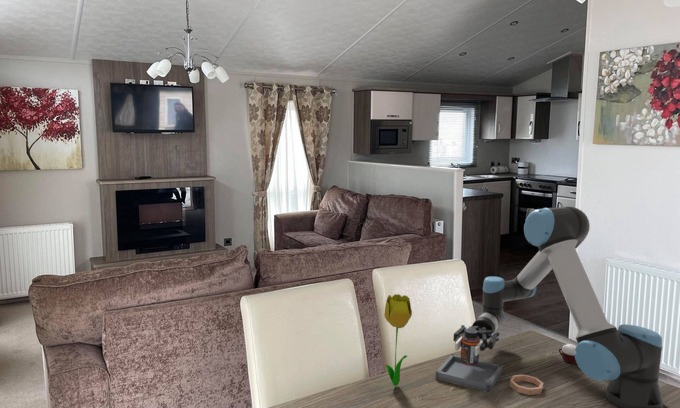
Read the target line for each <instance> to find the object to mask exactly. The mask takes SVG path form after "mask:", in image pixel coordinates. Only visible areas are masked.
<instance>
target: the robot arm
mask: <svg viewBox="0 0 680 408" xmlns="http://www.w3.org/2000/svg"><path fill="white" fill-rule="evenodd" d="M524 222H525V223H524V225H523V233H524V237H525V239H526V241H527V242H528V243H529V244H531V245H532V246H535V247H538V252H536V254H535V255H534V256H533V257H532V259H530V260H529V262H528V263H527V264H526V265H525V266H524V267H523V269H522V270H521V271H520V272H519V274H517V276H516V277H515V278H514V279H511V280H510V279H509V280H505V279H504V278H502V277H499V276H491V275H490V276H486V277H485V278H484V280H483V285H482V305H481V314H480V315H479V316H478V318H476V320H475V321H474V322H473V323H472V325H471V326H469V327H466V326H465V325H464V324H462V325H460V326H461V327H460V328H458V329H457V330H456V331H455V332H453V341H454V352H458V351H459V349H461V341H462V336H463V335H465V330H466V329H469V328H471V329H475V330H477V336H478V337H479V339H480V342H479V343H478V344H477V346H476V347H475V356H477V355H478V354H479V355H480V353H481V352H483V351H485V350H486V349H489V350H493V349H494V347H495V345H496V343H497V342H498V341H500V332H496V331H497V329H498V328H499V327H500V326H501V325H502V324H503V322H504V320H505V316H506V315H505V312H504V303H505V302H510V301H516V300H522V299H523V300H525V299H528V298H531V297H534V296H535V294H536V293H537V292H536V291H537V286H538V285H539V283H540V282H541V281H542V280H543V279H544V278H546V276H547V275H549V273H550V272H551V271H553V273H554V276H555V278H556V280H557V283H558V286H559V288H560V290H561V292H562V295H563V297H564V300H565V302H566V305H567V307H568V310H569V311H570V314H571V317H572V319H573V321H574V323H575V326H576V328H577V334H576V336H575V340H576V342H577V345H575V346H576V348H575V351H576V352H575V353H574V355H575V360H576V363H575V364H577V366H578V368H579V370H581V372H582V373H583V374H584V375H585V376H586V377H589V378H590V379H591V380H594V381H598V382H605V381H608V382H609V383H608V384H607V386H606V389H605V390H606V392H605V397H606V399H607V400H608V401H609V402H610V404H611V403H612V405H614V406H616V407H618V408H664V398H663V394H662V392H661V388H660V385H659V377H660V367H661V361H662V360H661V359H662V350H663V337H662V336H661V335H660V334H659V333H658V332H656V331H654V330H652V329H649V328H648V327H647V328H646V327H643V326H640V325H633V324H628V323H627V324H626V323H625V324H620V325H619V326H618V328H617V327H616V325H613V324H612V323H610V322H609V321H608V319H607V318H606V315H605V313H604V311H603V308H602V306H601V304H600V301H599V299H598V297H597V295H596V293H595V291H594V288H593V286H592V284H591V283H592V282H590V278H589V276H588V275H587V273H586V270H585V268H584V265H583V263H582V261H581V259H580V256H579V254H578V252H577V248H578V247H579V246H580V245H581V244H582V243H583V242H584V241H585V239H586V237H587V236H588V235H589V231H590V229H591V228H590V225H591V224H590V220H589V218H588V216H587V215H586V214H585V211H582V210H581V209H579V208H578V207H574V206H563V207H562V206H561V207H543V208H537V209H534V210H532V211H531V212H530V213H529V214H528V215H527V217H526V219H525V221H524ZM488 340H489V341H488Z"/></svg>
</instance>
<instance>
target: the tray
mask: <svg viewBox="0 0 680 408" xmlns="http://www.w3.org/2000/svg"><path fill="white" fill-rule="evenodd" d="M503 367H504V366H503V365H499V364H496V363H491V362H488V361H483V360H479V362H478V364H477V365H474V366H469V365H465V364H463V363H462V362H461V355H457V354H453V353H451V354H450V355H449V356H448V357H447V359H445V360H444V362H443V363H442V364H441V365H440V367H439V368H437V370H436V371H435V380H439V381H442V382H447V383H449V384H455V385H458V386H460V387H461V386H462V387H464V388H469V389H473V390H478V391H481V392H486V393H488V394H490V393H492V391H493V389H494V388H495V386H496V384H497V383H498V381H499V379H500V377H501V376H502V374H503V370H504V368H503Z"/></svg>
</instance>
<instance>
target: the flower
mask: <svg viewBox="0 0 680 408" xmlns="http://www.w3.org/2000/svg"><path fill="white" fill-rule="evenodd" d="M386 298H387V299H386V301H385V306H384V318H385V320H386V322H388V324H389V325H391V326H392V327H394V328H395V348H397V344H398V333H399V329H403V328H404V327H405V326H407V324H408V323H409V321H410V319H411V317H412V315H413V309H412V307H411V306H412V305H411V300H410V298H409V296H408V295H406V294H405V295H401V294H400V293H399V294H394V295H391V294H389V295H388V296H387V297H386ZM394 355H395V356H394V369H393V367H392V366H390V365H389V364H386V365H385V367H386V368H387V373H388V375H389V377H390V380H391V383H392V385H393V386H394V387H395V388H396V387H397V386H398V385H399V384H400V381H401V379H400V378H401V366H402V363H403V360H405V359H406V358H407V357H408V355H406V354H405V355H404V356H402V358H401V359H399V361H398V362H397V349H395V354H394Z"/></svg>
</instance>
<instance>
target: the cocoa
mask: <svg viewBox="0 0 680 408" xmlns="http://www.w3.org/2000/svg"><path fill="white" fill-rule="evenodd" d="M576 346H577V345H574V344H572V343H567V344H564V345H563V346H562V348H559V349H558V352H559V354H560V355H561V357H562V359H563V360H564V362H565V363H568V364H571V363H572V365H574V364H577V363H576V360H575V355H574V353H575V352H576V351H575V348H576Z"/></svg>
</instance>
